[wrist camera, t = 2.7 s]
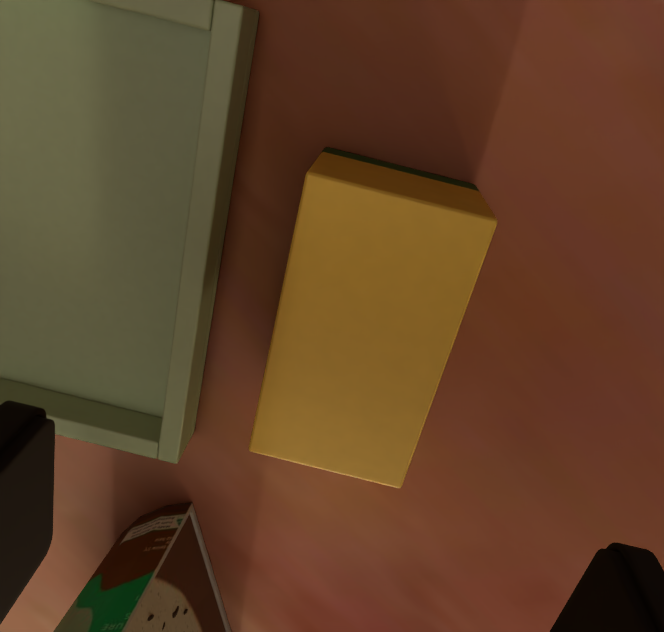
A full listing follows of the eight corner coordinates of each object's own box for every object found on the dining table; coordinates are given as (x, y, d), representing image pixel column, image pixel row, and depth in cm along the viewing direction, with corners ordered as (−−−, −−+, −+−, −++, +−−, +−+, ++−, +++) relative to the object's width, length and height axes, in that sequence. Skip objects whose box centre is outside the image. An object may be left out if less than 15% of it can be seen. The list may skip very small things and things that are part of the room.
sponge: (476, 184, 19) (499, 219, 15) (399, 412, 22) (400, 489, 18) (324, 145, 18) (306, 171, 14) (273, 380, 22) (247, 451, 18)
